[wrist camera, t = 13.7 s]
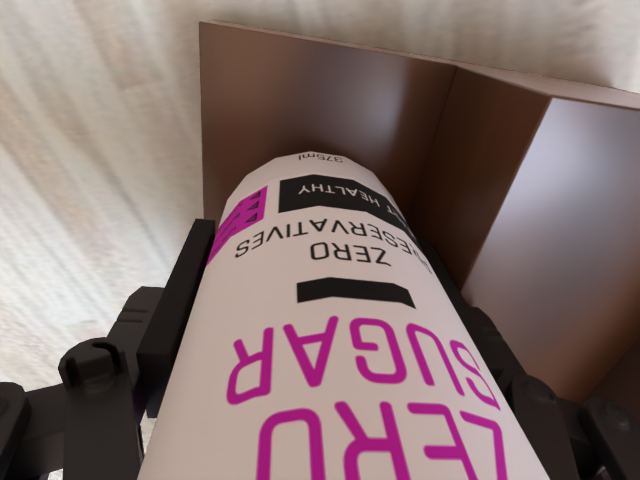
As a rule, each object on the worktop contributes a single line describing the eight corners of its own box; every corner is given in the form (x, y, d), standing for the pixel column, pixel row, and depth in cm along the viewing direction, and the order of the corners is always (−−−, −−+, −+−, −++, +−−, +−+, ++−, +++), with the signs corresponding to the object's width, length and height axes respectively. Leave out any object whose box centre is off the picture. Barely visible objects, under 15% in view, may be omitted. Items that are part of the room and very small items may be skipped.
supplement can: (268, 311, 20) (233, 827, 7) (190, 184, 15) (-235, 934, 3) (408, 266, 19) (648, 775, 6) (368, 116, 14) (894, 818, 2)
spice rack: (615, 88, 18) (1111, 203, 7) (490, 315, 27) (631, 527, 16) (213, 19, 15) (25, 38, 4) (215, 299, 24) (153, 545, 13)
